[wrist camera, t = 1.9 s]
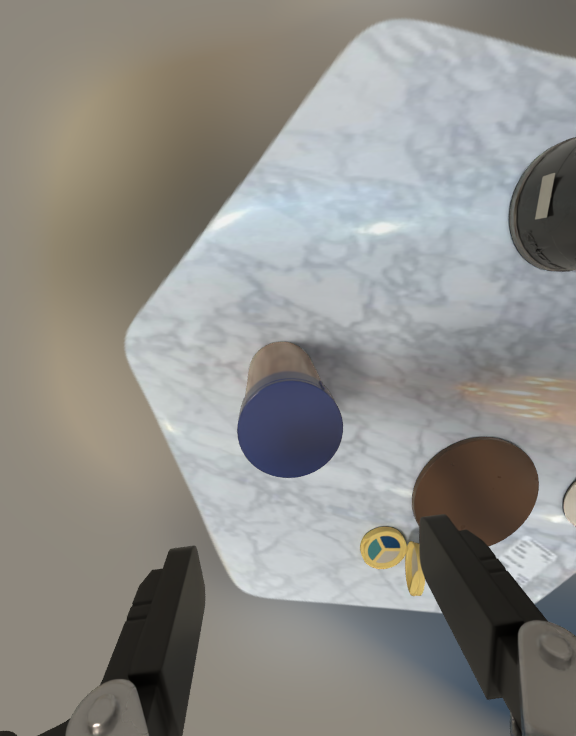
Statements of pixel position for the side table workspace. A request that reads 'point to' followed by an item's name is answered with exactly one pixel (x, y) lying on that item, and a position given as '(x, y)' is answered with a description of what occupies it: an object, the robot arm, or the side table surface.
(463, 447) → the coaster
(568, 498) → the can
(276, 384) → the jar lid
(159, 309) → the side table surface
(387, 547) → the eyeshadow
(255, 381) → the jar
